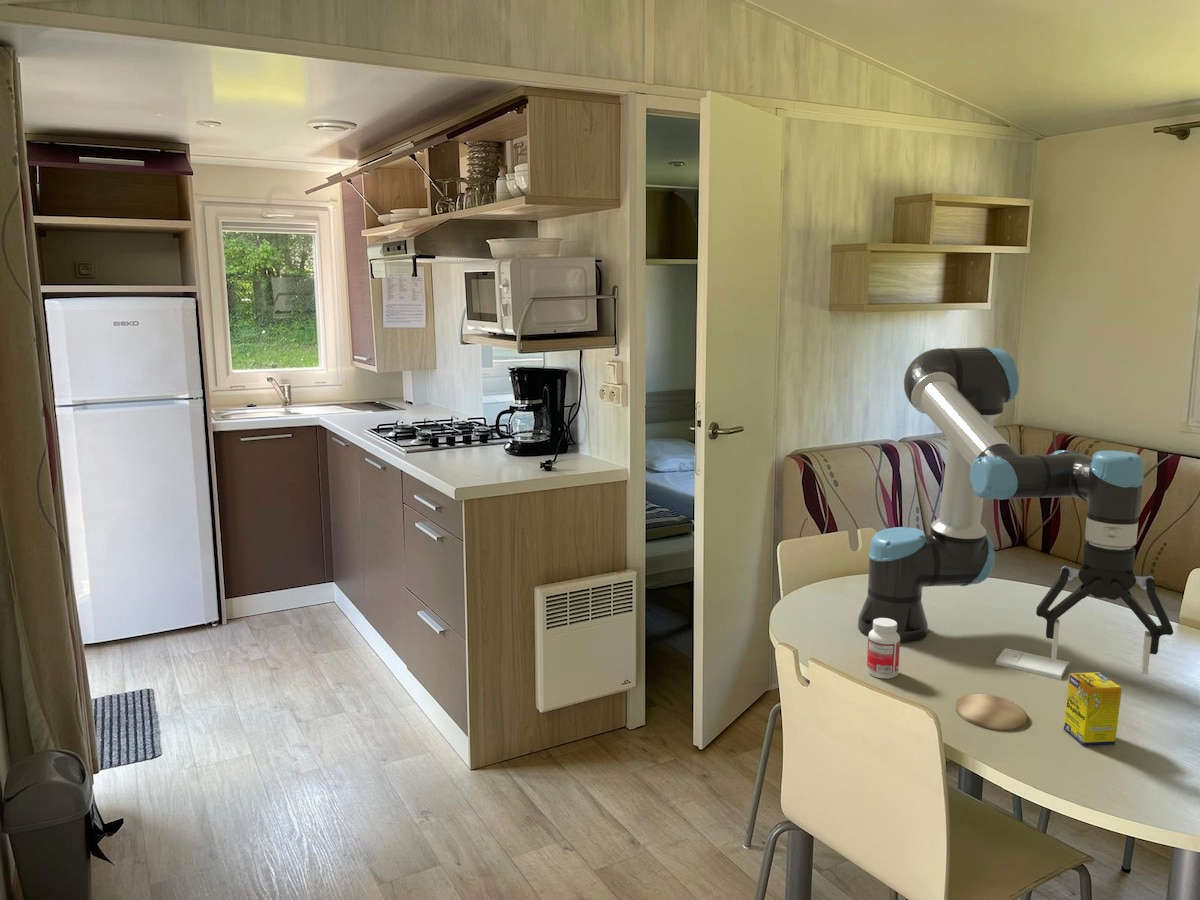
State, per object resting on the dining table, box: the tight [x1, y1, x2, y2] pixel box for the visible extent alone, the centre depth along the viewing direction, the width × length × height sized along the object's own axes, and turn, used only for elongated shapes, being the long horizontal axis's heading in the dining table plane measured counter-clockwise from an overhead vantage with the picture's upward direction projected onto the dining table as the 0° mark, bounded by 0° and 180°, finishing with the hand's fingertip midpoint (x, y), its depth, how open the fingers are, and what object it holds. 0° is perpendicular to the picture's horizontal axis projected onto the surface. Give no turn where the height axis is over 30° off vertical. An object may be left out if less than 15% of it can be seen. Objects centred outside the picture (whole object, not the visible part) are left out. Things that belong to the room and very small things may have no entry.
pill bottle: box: [866, 618, 901, 680], centre depth 181 cm, size 6×6×11 cm
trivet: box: [955, 693, 1028, 731], centre depth 165 cm, size 12×12×1 cm
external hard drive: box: [995, 647, 1070, 681], centre depth 186 cm, size 2×8×12 cm
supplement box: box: [1063, 671, 1123, 748], centre depth 155 cm, size 6×6×11 cm
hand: (1098, 663), depth 153 cm, fingers open, 13 cm apart
